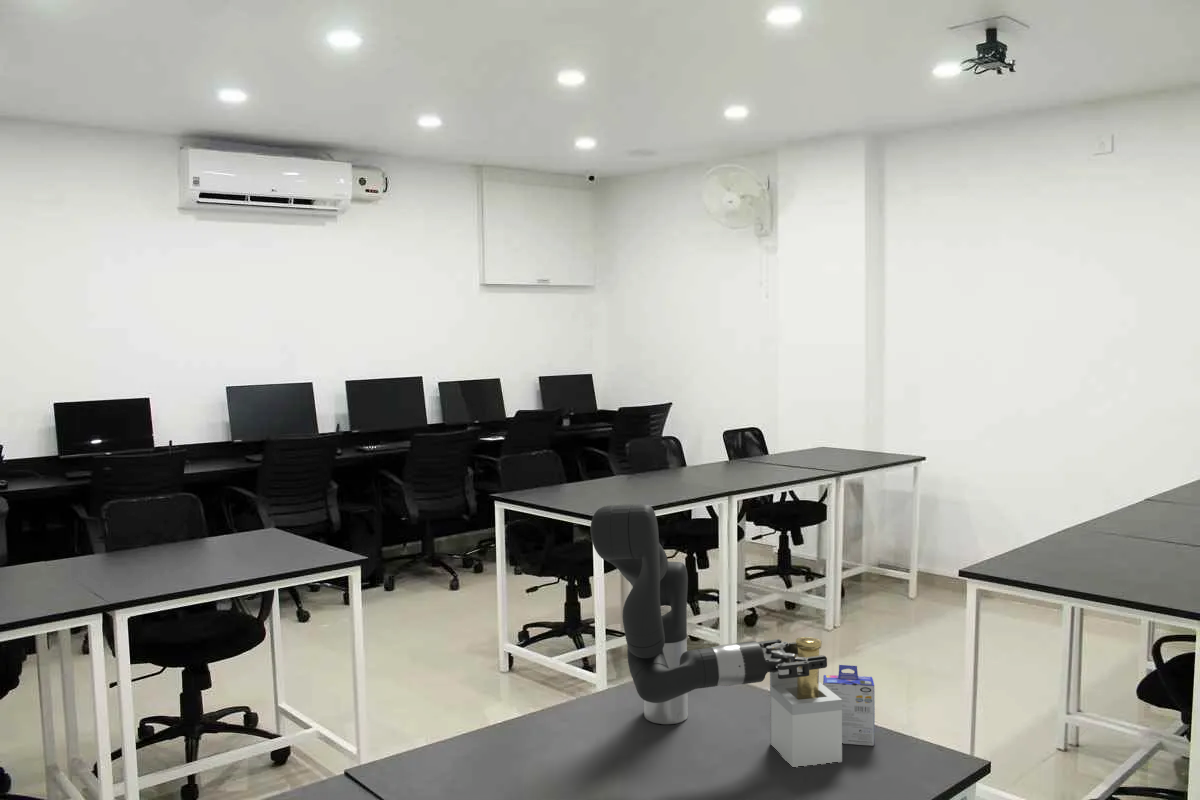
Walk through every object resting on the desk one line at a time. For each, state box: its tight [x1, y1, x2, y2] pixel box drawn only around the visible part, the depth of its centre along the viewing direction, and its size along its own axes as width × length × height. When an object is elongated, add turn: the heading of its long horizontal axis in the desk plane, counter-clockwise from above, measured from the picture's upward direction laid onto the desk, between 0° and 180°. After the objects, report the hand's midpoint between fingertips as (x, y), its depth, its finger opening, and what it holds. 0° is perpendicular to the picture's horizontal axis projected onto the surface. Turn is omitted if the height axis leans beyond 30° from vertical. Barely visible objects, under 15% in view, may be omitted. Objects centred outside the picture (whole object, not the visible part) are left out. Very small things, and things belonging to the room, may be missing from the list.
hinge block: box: [769, 654, 843, 768], centre depth 178 cm, size 11×10×18 cm
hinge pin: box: [795, 636, 823, 700], centre depth 178 cm, size 5×5×12 cm
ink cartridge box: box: [822, 664, 876, 747], centre depth 184 cm, size 10×6×14 cm, turn 78°
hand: (816, 653), depth 178 cm, fingers open, 8 cm apart
